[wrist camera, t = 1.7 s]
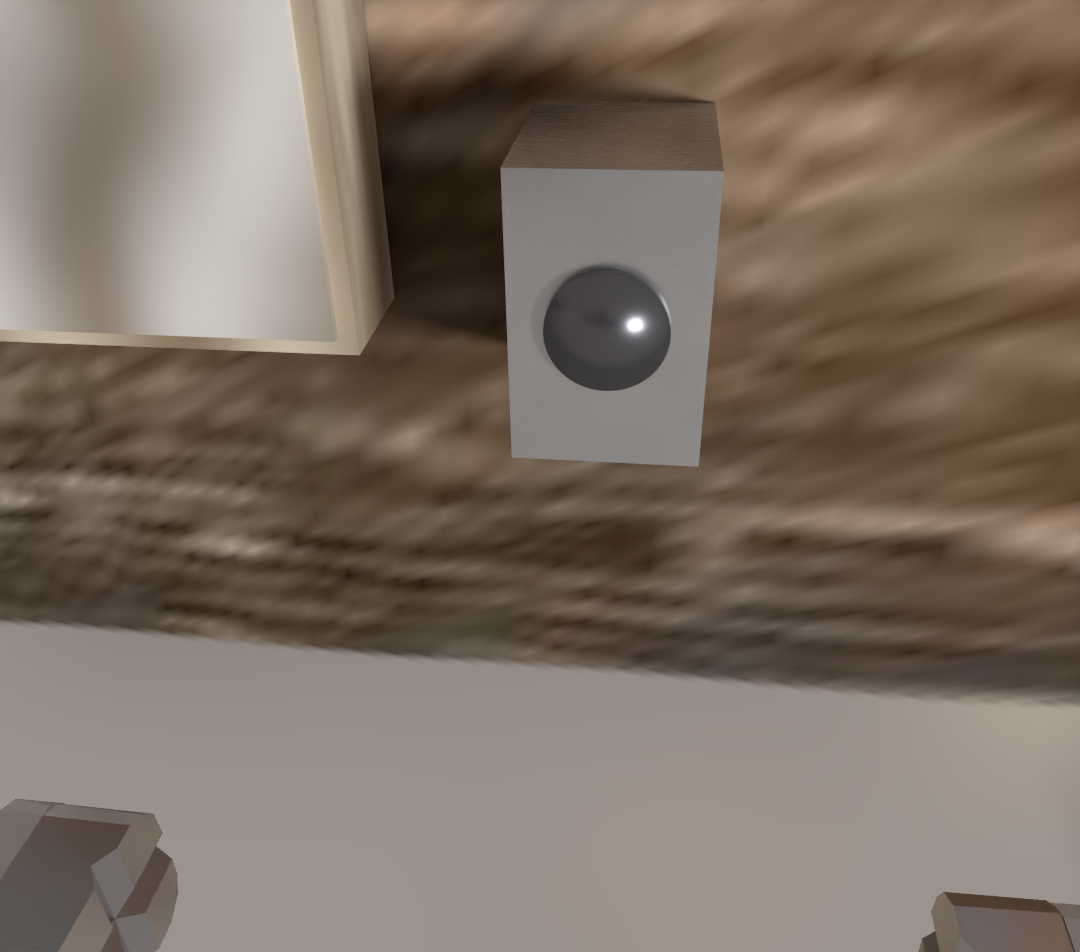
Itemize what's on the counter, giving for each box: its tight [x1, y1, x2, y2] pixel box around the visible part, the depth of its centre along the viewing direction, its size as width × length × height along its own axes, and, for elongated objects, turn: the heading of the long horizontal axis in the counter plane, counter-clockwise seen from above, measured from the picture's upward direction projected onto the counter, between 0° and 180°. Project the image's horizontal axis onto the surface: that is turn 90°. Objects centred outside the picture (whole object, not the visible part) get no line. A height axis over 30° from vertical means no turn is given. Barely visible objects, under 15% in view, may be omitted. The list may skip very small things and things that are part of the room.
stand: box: [0, 0, 394, 355], centre depth 24 cm, size 11×12×4 cm
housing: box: [501, 101, 724, 467], centre depth 24 cm, size 4×7×6 cm, turn 1°
